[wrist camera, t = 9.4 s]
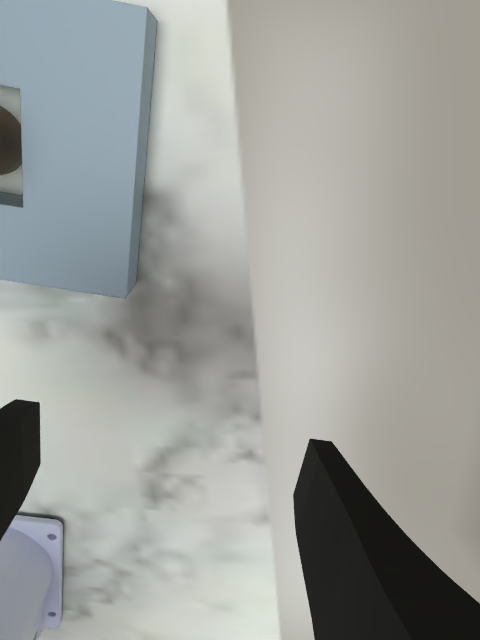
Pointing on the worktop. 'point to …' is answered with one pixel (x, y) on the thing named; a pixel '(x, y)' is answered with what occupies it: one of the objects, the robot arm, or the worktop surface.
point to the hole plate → (77, 141)
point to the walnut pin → (9, 142)
